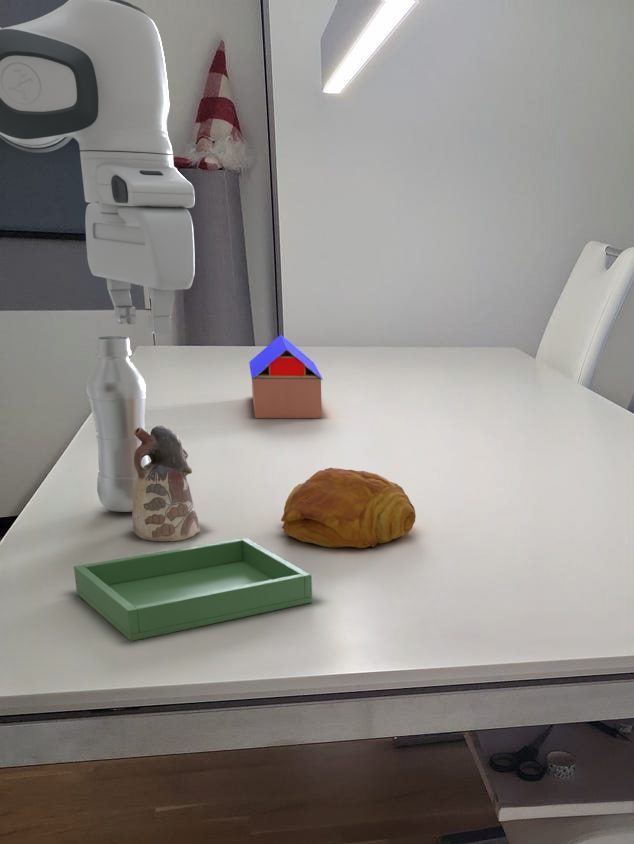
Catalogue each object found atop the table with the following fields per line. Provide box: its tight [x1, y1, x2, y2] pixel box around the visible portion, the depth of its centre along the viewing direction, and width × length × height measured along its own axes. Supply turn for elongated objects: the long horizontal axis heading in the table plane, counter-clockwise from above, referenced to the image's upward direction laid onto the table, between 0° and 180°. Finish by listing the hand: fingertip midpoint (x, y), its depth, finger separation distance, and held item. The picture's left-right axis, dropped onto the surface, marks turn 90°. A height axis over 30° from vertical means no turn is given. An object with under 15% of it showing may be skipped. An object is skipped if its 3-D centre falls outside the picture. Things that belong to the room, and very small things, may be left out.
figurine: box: [131, 425, 201, 542], centre depth 114 cm, size 7×7×12 cm
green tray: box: [73, 537, 313, 642], centre depth 97 cm, size 18×14×3 cm
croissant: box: [280, 467, 417, 549], centre depth 118 cm, size 14×16×8 cm
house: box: [248, 334, 324, 419], centre depth 186 cm, size 12×20×12 cm, turn 13°
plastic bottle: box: [85, 335, 150, 513], centre depth 120 cm, size 6×7×20 cm
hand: (143, 328), depth 109 cm, fingers open, 8 cm apart
